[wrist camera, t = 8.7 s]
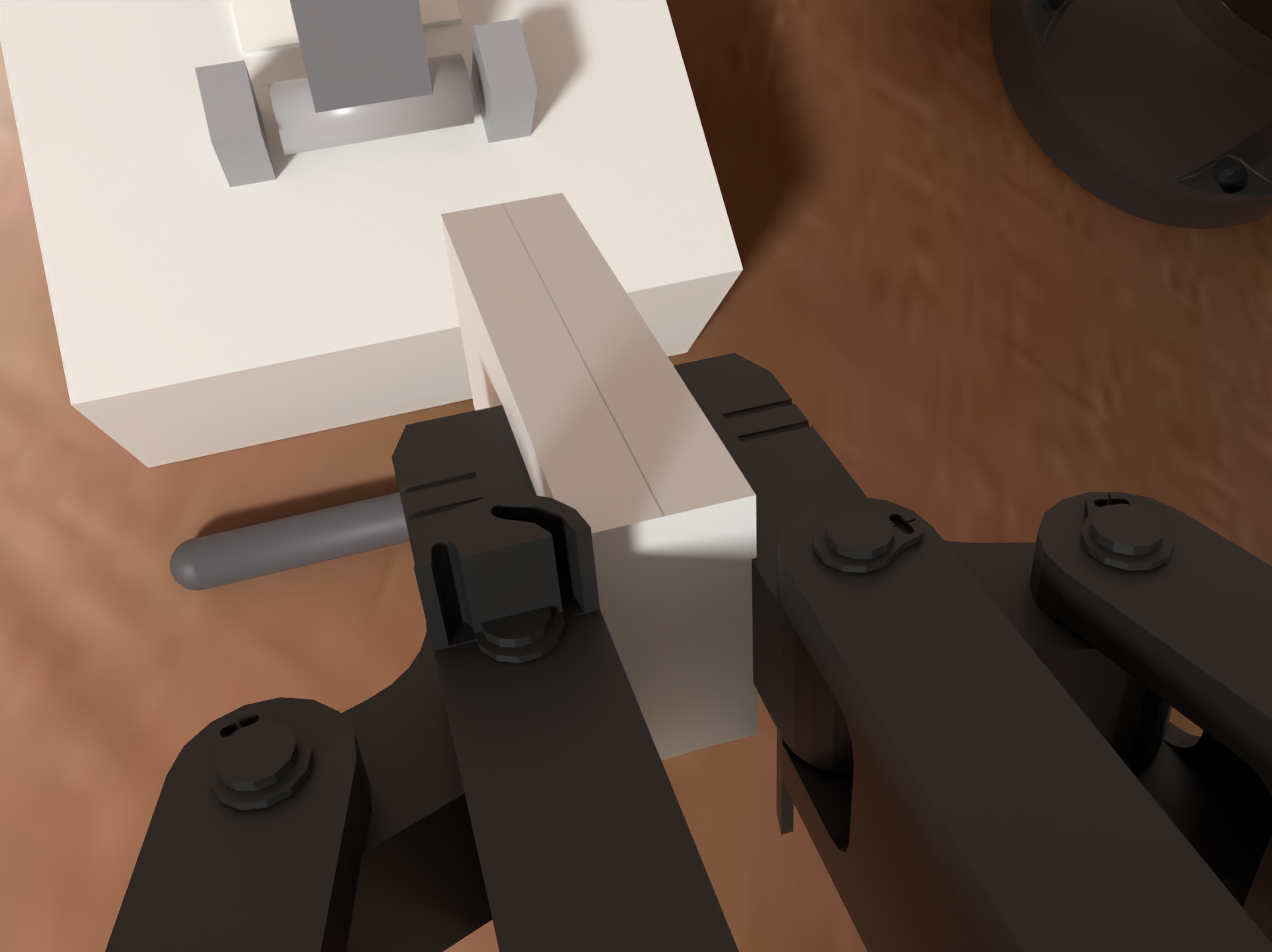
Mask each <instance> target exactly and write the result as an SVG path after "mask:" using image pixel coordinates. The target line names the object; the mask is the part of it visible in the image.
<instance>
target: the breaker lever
mask: <svg viewBox="0 0 1272 952" xmlns="http://www.w3.org/2000/svg"><path fill="white" fill-rule="evenodd" d="M290 5H291V9H292V13H293V18H294V22H295V27H296V31H297V35H298V40H299V44H300V48H301V53H302V57H303V62H304V66H305V70H306V75H307V77H305V78H298V79H292V80H286V81H279V82H273V83H268V88H269V93H270V98H271V102H272V106H273V111H274V115H275V119H276V123H277V127H278V131H279V135H280V139H281V143H282V147H283V150H284V154H285V155H288V154H294V153H300V152H306V151H312V150H318V149H324V148H330V147H336V146H342V145H348V144H354V143H360V142H366V141H372V140H378V139H384V138H390V137H396V136H402V135H408V134H414V133H419V132H425V131H431V130H437V129H443V128H449V127H455V126H461V125H467V124H473V123H474V105H473V98H472V92H471V86H470V81H469V77H468V73H467V69H466V65H465V62H464V59H463V57H462V55H461V54H460V53H459V54H453V55H446V56H440V57H433V58H427V52H426V46H425V39H424V32H423V26H422V19H421V12H420V6H419V0H290Z"/></svg>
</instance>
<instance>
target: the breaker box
mask: <svg viewBox="0 0 1272 952" xmlns="http://www.w3.org/2000/svg"><path fill="white" fill-rule="evenodd" d="M419 6H420V12H421V19H422V26H423V32H424V39H425V46H426V52H427V58H433V57H440V56H446V55H453V54H459V53H460V54H461V55H462V57H463V59H464V62H465V65H466V69H467V73H468V77H469V81H470V86H471V92H472V98H473V105H474V123H473V124H467V125H461V126H455V127H449V128H443V129H437V130H431V131H425V132H419V133H414V134H408V135H402V136H396V137H390V138H384V139H378V140H372V141H366V142H360V143H354V144H348V145H342V146H336V147H330V148H324V149H318V150H312V151H306V152H300V153H294V154H288V155H285V154H284V150H283V147H282V143H281V139H280V135H279V131H278V127H277V123H276V119H275V115H274V111H273V106H272V102H271V98H270V93H269V88H268V83H273V82H279V81H286V80H292V79H298V78H305V77H307V75H306V70H305V66H304V62H303V57H302V53H301V48H300V44H299V40H298V35H297V31H296V27H295V22H294V18H293V13H292V9H291V5H290V0H0V41H1V46H2V51H3V57H4V62H5V67H6V72H7V77H8V82H9V88H10V93H11V98H12V103H13V108H14V113H15V119H16V124H17V129H18V134H19V139H20V144H21V149H22V155H23V160H24V165H25V170H26V175H27V180H28V186H29V191H30V196H31V201H32V206H33V211H34V217H35V222H36V227H37V232H38V237H39V242H40V248H41V253H42V258H43V263H44V268H45V273H46V278H47V284H48V289H49V294H50V299H51V304H52V309H53V315H54V320H55V325H56V330H57V335H58V340H59V346H60V351H61V356H62V361H63V366H64V371H65V376H66V382H67V387H68V392H69V397H70V402H71V405H72V406H73V407H74V408H75V409H77V410H78V411H79V412H80V413H82V414H83V415H84V416H85V417H87V418H88V419H89V420H90V421H92V422H93V423H94V424H95V425H96V426H98V427H99V428H100V429H101V430H103V431H104V432H105V433H106V434H108V435H109V436H110V437H111V438H113V439H114V440H115V441H116V442H117V443H119V444H120V445H121V446H122V447H124V448H125V449H126V450H127V451H129V452H130V453H131V454H132V455H134V456H135V457H136V458H137V459H139V460H140V461H141V462H142V463H143V464H145V465H146V466H147V467H148V468H150V467H154V466H159V465H164V464H168V463H173V462H178V461H182V460H187V459H192V458H196V457H201V456H206V455H210V454H215V453H220V452H224V451H229V450H234V449H238V448H243V447H248V446H252V445H257V444H262V443H266V442H271V441H276V440H280V439H285V438H290V437H294V436H299V435H304V434H308V433H313V432H318V431H322V430H327V429H332V428H336V427H341V426H346V425H350V424H355V423H360V422H364V421H369V420H374V419H378V418H383V417H388V416H392V415H397V414H402V413H406V412H411V411H416V410H420V409H425V408H430V407H434V406H439V405H444V404H448V403H453V402H458V401H462V400H467V399H472V398H473V397H472V391H471V385H470V380H469V374H468V368H467V363H466V357H465V351H464V345H463V340H462V334H461V328H460V322H459V317H458V311H457V305H456V299H455V294H454V288H453V282H452V276H451V271H450V265H449V259H448V254H447V248H446V242H445V236H444V231H443V225H442V219H441V214H444V213H450V212H455V211H461V210H467V209H472V208H478V207H484V206H490V205H495V204H501V203H507V202H512V201H518V200H524V199H529V198H535V197H541V196H546V195H552V194H558V193H563V194H564V196H565V198H566V199H567V201H568V202H569V204H570V205H571V207H572V208H573V210H574V212H575V213H576V215H577V216H578V218H579V219H580V221H581V223H582V224H583V226H584V227H585V229H586V230H587V232H588V233H589V235H590V237H591V238H592V240H593V241H594V243H595V244H596V246H597V248H598V249H599V251H600V252H601V254H602V255H603V257H604V258H605V260H606V262H607V263H608V265H609V266H610V268H611V269H612V271H613V273H614V274H615V276H616V277H617V279H618V280H619V282H620V283H621V285H622V287H623V288H624V290H625V291H626V293H627V294H628V296H629V297H630V299H631V301H632V302H633V304H634V305H635V307H636V308H637V310H638V312H639V313H640V315H641V316H642V318H643V319H644V321H645V322H646V324H647V326H648V327H649V329H650V330H651V332H652V333H653V335H654V337H655V338H656V340H657V341H658V343H659V344H660V346H661V347H662V349H663V351H664V352H665V354H666V355H667V357H668V356H673V355H677V354H682V353H687V352H688V350H689V349H690V347H691V346H692V344H693V343H694V341H695V340H696V338H697V337H698V335H699V334H700V332H701V331H702V329H703V328H704V326H705V325H706V323H707V322H708V321H709V319H710V318H711V316H712V315H713V313H714V312H715V310H716V309H717V307H718V306H719V304H720V303H721V301H722V300H723V298H724V297H725V295H726V294H727V292H728V291H729V289H730V288H731V286H732V285H733V283H734V282H735V281H736V279H737V278H738V276H739V275H740V273H741V272H742V270H743V268H742V264H741V261H740V257H739V254H738V250H737V247H736V243H735V240H734V236H733V233H732V229H731V226H730V222H729V219H728V215H727V212H726V208H725V205H724V201H723V198H722V195H721V191H720V188H719V184H718V181H717V177H716V174H715V170H714V167H713V163H712V160H711V156H710V153H709V149H708V146H707V142H706V139H705V135H704V132H703V128H702V125H701V121H700V118H699V114H698V111H697V107H696V104H695V100H694V97H693V93H692V90H691V86H690V83H689V79H688V76H687V73H686V69H685V66H684V62H683V59H682V55H681V52H680V48H679V45H678V41H677V38H676V34H675V31H674V27H673V24H672V20H671V17H670V13H669V10H668V6H667V3H666V0H419ZM408 541H410V539H409V534H408V529H407V525H406V520H405V516H404V511H403V506H402V502H401V497H400V492H396V493H392V494H387V495H383V496H378V497H374V498H370V499H365V500H361V501H356V502H352V503H348V504H343V505H339V506H334V507H330V508H326V509H321V510H317V511H312V512H308V513H304V514H299V515H295V516H290V517H286V518H282V519H277V520H273V521H268V522H264V523H260V524H255V525H251V526H246V527H242V528H238V529H233V530H229V531H224V532H220V533H215V534H211V535H207V536H202V537H198V538H193V539H190V540H187V541H185V542H183V543H182V544H180V545H179V546H178V547H177V548H176V549H175V551H174V552H173V554H172V557H171V560H170V570H171V573H172V575H173V577H174V579H175V580H176V581H177V582H178V583H179V584H180V585H181V586H183V587H185V588H187V589H191V590H204V589H208V588H212V587H217V586H221V585H225V584H229V583H234V582H238V581H242V580H246V579H251V578H255V577H259V576H263V575H268V574H272V573H276V572H280V571H285V570H289V569H293V568H297V567H302V566H306V565H310V564H314V563H319V562H323V561H327V560H331V559H335V558H340V557H344V556H348V555H352V554H357V553H361V552H365V551H369V550H374V549H378V548H382V547H386V546H391V545H395V544H399V543H403V542H408Z"/></svg>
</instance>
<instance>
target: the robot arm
mask: <svg viewBox="0 0 1272 952" xmlns="http://www.w3.org/2000/svg"><path fill="white" fill-rule="evenodd" d="M992 37H993V44H994V50H995V55H996V60H997V64H998V68H999V71H1000V74H1001V78H1002V80H1003V83H1004V86H1005V88H1006V91H1007V93H1008V95H1009V98H1010V100H1011V102H1012V104H1013V106H1014V108H1015V110H1016V112H1017V114H1018V115H1019V117H1020V119H1021V120H1022V122H1023V124H1024V125H1025V127H1026V128H1027V130H1028V131H1029V133H1030V134H1031V135H1032V137H1033V138H1034V140H1035V141H1036V142H1037V143H1038V145H1039V146H1040V147H1041V148H1042V149H1043V151H1044V152H1045V153H1046V154H1047V155H1048V156H1049V157H1050V158H1051V159H1052V161H1053V162H1054V163H1055V164H1056V165H1057V166H1058V167H1060V168H1061V169H1062V170H1063V171H1064V172H1065V173H1066V174H1067V175H1068V176H1069V177H1071V178H1072V179H1073V180H1074V181H1076V182H1077V183H1078V184H1079V185H1081V186H1082V187H1084V188H1085V189H1086V190H1088V191H1089V192H1091V193H1092V194H1094V195H1095V196H1097V197H1099V198H1100V199H1102V200H1103V201H1105V202H1107V203H1109V204H1111V205H1113V206H1115V207H1117V208H1119V209H1121V210H1123V211H1125V212H1128V213H1130V214H1133V215H1135V216H1138V217H1141V218H1144V219H1147V220H1150V221H1154V222H1157V223H1162V224H1166V225H1171V226H1178V227H1187V228H1219V227H1227V226H1233V225H1238V224H1242V223H1246V222H1250V221H1253V220H1256V219H1258V218H1261V217H1264V216H1266V215H1268V214H1270V213H1272V0H993V2H992ZM441 219H442V225H443V231H444V236H445V242H446V248H447V254H448V259H449V265H450V271H451V276H452V282H453V288H454V294H455V299H456V305H457V311H458V317H459V322H460V328H461V334H462V340H463V345H464V351H465V357H466V363H467V368H468V374H469V380H470V385H471V391H472V397H473V403H474V408H475V411H471V412H466V413H462V414H457V415H452V416H447V417H442V418H438V419H433V420H428V421H423V422H418V423H414V424H409V425H406V427H405V429H404V431H403V433H402V435H401V438H400V440H399V442H398V444H397V446H396V449H395V451H394V453H393V455H392V460H393V465H394V470H395V474H396V479H397V483H398V488H399V492H400V497H401V502H402V506H403V511H404V516H405V520H406V525H407V529H408V534H409V539H410V543H411V548H412V552H413V557H414V562H415V565H414V570H415V574H416V579H417V583H418V587H419V592H420V596H421V600H422V605H423V609H424V613H425V618H426V627H427V633H426V636H425V639H424V642H423V645H422V648H421V651H420V652H419V654H418V655H417V657H416V658H415V660H414V661H413V662H412V664H411V665H410V667H409V668H408V669H407V670H406V671H405V672H404V673H403V674H402V675H401V676H400V677H399V678H398V679H397V680H396V681H394V682H393V683H392V684H391V685H390V686H388V687H387V688H385V689H384V690H382V691H380V692H379V693H377V694H376V695H374V696H373V697H371V698H369V699H368V700H366V701H364V702H362V703H360V704H358V705H356V706H354V707H353V708H351V709H349V710H347V711H345V712H343V713H341V714H340V712H339V711H336V710H334V709H332V708H330V707H328V706H326V705H324V704H321V703H319V702H317V701H315V700H311V699H296V698H282V697H280V698H275V699H271V700H266V701H262V702H257V703H253V704H248V705H244V706H242V707H240V708H238V709H236V710H234V711H232V712H230V713H228V714H226V715H224V716H222V717H220V718H218V719H216V720H214V721H212V722H211V723H210V724H209V725H207V726H206V727H205V728H204V729H203V730H202V731H201V732H199V733H198V734H197V735H196V736H195V737H194V738H193V739H192V740H190V741H189V742H188V743H187V744H186V745H185V746H184V747H183V749H182V750H181V752H180V754H179V755H178V757H177V759H176V760H175V762H174V764H173V766H172V767H171V769H170V771H169V772H168V774H167V776H166V779H165V782H164V785H163V788H162V791H161V793H160V796H159V799H158V802H157V805H156V808H155V811H154V813H153V816H152V819H151V822H150V825H149V828H148V831H147V833H146V836H145V839H144V842H143V845H142V848H141V851H140V854H139V856H138V859H137V862H136V865H135V868H134V871H133V874H132V876H131V879H130V882H129V885H128V888H127V891H126V894H125V896H124V899H123V902H122V905H121V908H120V911H119V914H118V917H117V919H116V922H115V925H114V928H113V931H112V934H111V937H110V939H109V942H108V945H107V948H106V951H105V952H443V951H444V950H446V949H448V948H449V947H451V946H452V945H454V944H455V943H457V942H458V941H460V940H461V939H463V938H464V937H466V936H468V935H469V934H471V933H472V932H474V931H475V930H477V929H478V928H480V927H481V926H483V925H484V924H486V923H488V922H489V921H491V920H492V919H493V924H494V928H495V933H496V937H497V942H498V946H499V951H500V952H739V951H738V949H737V946H736V944H735V941H734V939H733V936H732V934H731V931H730V929H729V926H728V924H727V922H726V919H725V917H724V914H723V912H722V909H721V907H720V904H719V902H718V899H717V897H716V894H715V892H714V889H713V887H712V884H711V882H710V880H709V877H708V875H707V872H706V870H705V867H704V865H703V862H702V860H701V857H700V855H699V852H698V850H697V847H696V845H695V843H694V840H693V838H692V835H691V833H690V830H689V828H688V825H687V823H686V820H685V818H684V815H683V813H682V810H681V808H680V806H679V803H678V801H677V798H676V796H675V793H674V791H673V788H672V786H671V783H670V781H669V778H668V776H667V773H666V771H665V769H664V766H663V764H662V761H661V760H663V759H667V758H670V757H674V756H678V755H681V754H685V753H689V752H692V751H696V750H700V749H703V748H707V747H711V746H714V745H718V744H722V743H725V742H729V741H733V740H736V739H740V738H744V737H747V736H751V735H754V734H758V693H759V694H760V696H761V698H762V700H763V702H764V704H765V706H766V708H767V710H768V712H769V714H770V716H771V718H772V719H773V721H774V723H775V725H776V727H777V817H778V821H779V826H780V830H781V835H782V834H786V833H789V832H792V831H793V803H794V804H795V806H796V808H797V810H798V812H799V814H800V816H801V818H802V820H803V823H804V825H805V827H806V829H807V831H808V833H809V835H810V837H811V839H812V841H813V843H814V845H815V847H816V849H817V851H818V853H819V855H820V857H821V859H822V861H823V863H824V865H825V867H826V869H827V871H828V873H829V875H830V877H831V879H832V881H833V883H834V885H835V887H836V889H837V891H838V893H839V895H840V897H841V899H842V901H843V903H844V905H845V907H846V909H847V911H848V913H849V915H850V917H851V919H852V921H853V923H854V925H855V927H856V929H857V931H858V933H859V935H860V937H861V939H862V941H863V943H864V945H865V947H866V949H867V951H868V952H1272V566H1270V565H1268V564H1267V563H1265V562H1264V561H1262V560H1260V559H1259V558H1257V557H1255V556H1254V555H1252V554H1250V553H1249V552H1247V551H1245V550H1244V549H1242V548H1240V547H1239V546H1237V545H1236V544H1234V543H1232V542H1231V541H1229V540H1227V539H1226V538H1224V537H1222V536H1221V535H1219V534H1217V533H1216V532H1214V531H1212V530H1211V529H1209V528H1208V527H1206V526H1204V525H1203V524H1201V523H1199V522H1198V521H1196V520H1194V519H1193V518H1191V517H1189V516H1188V515H1186V514H1184V513H1183V512H1181V511H1179V510H1176V509H1174V508H1172V507H1170V506H1168V505H1165V504H1163V503H1161V502H1159V501H1156V500H1154V499H1151V498H1146V497H1141V496H1137V495H1132V494H1127V493H1122V492H1089V493H1085V494H1081V495H1078V496H1074V497H1071V498H1067V499H1063V500H1061V501H1060V502H1059V503H1057V504H1056V505H1055V506H1053V507H1052V508H1051V509H1050V510H1048V511H1047V512H1046V513H1044V516H1043V519H1042V522H1041V525H1040V527H1039V530H1038V535H1037V541H1036V542H1034V543H965V542H949V541H944V540H943V539H942V538H941V537H940V535H939V534H938V533H937V532H936V530H935V529H934V528H933V527H932V526H931V525H930V524H928V523H927V522H926V521H925V520H923V519H922V518H921V517H920V516H919V515H917V514H916V513H915V512H914V511H912V510H909V509H907V508H904V507H902V506H899V505H897V504H894V503H892V502H889V501H887V500H880V499H872V498H867V496H866V495H865V494H864V493H863V491H862V490H861V489H860V487H859V486H858V485H857V483H856V482H855V481H854V480H853V478H852V477H851V476H850V474H849V473H848V472H847V471H846V469H845V468H844V467H843V465H842V464H841V463H840V461H839V460H838V459H837V458H836V456H835V455H834V454H833V452H832V451H831V450H830V448H829V447H828V446H827V445H826V443H825V442H824V441H823V439H822V438H821V437H820V435H819V434H818V433H817V432H816V430H815V429H814V428H813V426H810V427H809V424H808V420H807V419H806V417H805V416H804V415H803V413H802V412H801V411H800V409H799V408H798V407H797V406H796V404H794V405H793V404H792V400H791V398H790V397H789V395H788V394H787V393H786V391H785V390H784V389H783V387H782V386H781V385H780V384H779V382H778V381H777V380H776V378H775V377H774V376H773V374H772V373H771V372H769V371H767V370H765V369H764V368H762V367H760V366H758V365H756V364H754V363H752V362H751V361H749V360H747V359H745V358H743V357H741V356H739V355H738V354H736V353H732V354H728V355H723V356H718V357H713V358H708V359H704V360H699V361H694V362H689V363H684V364H680V365H675V366H673V365H672V363H671V362H670V360H669V358H668V357H667V355H666V354H665V352H664V351H663V349H662V347H661V346H660V344H659V343H658V341H657V340H656V338H655V337H654V335H653V333H652V332H651V330H650V329H649V327H648V326H647V324H646V322H645V321H644V319H643V318H642V316H641V315H640V313H639V312H638V310H637V308H636V307H635V305H634V304H633V302H632V301H631V299H630V297H629V296H628V294H627V293H626V291H625V290H624V288H623V287H622V285H621V283H620V282H619V280H618V279H617V277H616V276H615V274H614V273H613V271H612V269H611V268H610V266H609V265H608V263H607V262H606V260H605V258H604V257H603V255H602V254H601V252H600V251H599V249H598V248H597V246H596V244H595V243H594V241H593V240H592V238H591V237H590V235H589V233H588V232H587V230H586V229H585V227H584V226H583V224H582V223H581V221H580V219H579V218H578V216H577V215H576V213H575V212H574V210H573V208H572V207H571V205H570V204H569V202H568V201H567V199H566V198H565V196H564V194H563V193H558V194H552V195H546V196H541V197H535V198H529V199H524V200H518V201H512V202H507V203H501V204H495V205H490V206H484V207H478V208H472V209H467V210H461V211H455V212H450V213H444V214H441ZM1172 707H1174V708H1175V709H1176V710H1177V711H1179V712H1180V713H1181V714H1183V715H1184V716H1185V717H1187V718H1188V719H1189V720H1191V721H1192V722H1193V723H1195V724H1196V725H1197V726H1199V727H1200V728H1201V729H1203V733H1202V736H1201V737H1198V736H1193V735H1190V734H1188V733H1186V732H1184V731H1183V730H1181V729H1179V728H1177V727H1176V726H1175V725H1173V724H1172V723H1171V722H1170V721H1169V718H1170V714H1171V711H1172Z"/></svg>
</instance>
